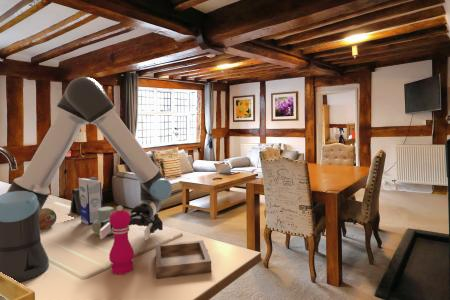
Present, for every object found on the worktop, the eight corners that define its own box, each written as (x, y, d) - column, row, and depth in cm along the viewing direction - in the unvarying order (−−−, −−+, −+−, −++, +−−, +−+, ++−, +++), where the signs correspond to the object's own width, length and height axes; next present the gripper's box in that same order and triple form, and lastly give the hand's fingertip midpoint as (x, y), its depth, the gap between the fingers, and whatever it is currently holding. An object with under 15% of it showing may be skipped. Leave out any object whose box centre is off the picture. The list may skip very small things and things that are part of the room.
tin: (14, 234, 125) (12, 214, 124) (14, 232, 127) (12, 212, 126) (57, 226, 134) (55, 207, 133) (56, 224, 136) (54, 205, 135)
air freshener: (89, 233, 126) (87, 209, 125) (107, 227, 133) (105, 204, 131) (106, 239, 120) (105, 213, 119) (124, 232, 127) (123, 208, 125)
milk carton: (80, 222, 139) (78, 177, 136) (95, 218, 144) (93, 175, 141) (88, 225, 134) (86, 179, 132) (103, 221, 139) (101, 177, 137)
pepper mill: (109, 277, 92) (105, 210, 89) (110, 265, 99) (107, 203, 96) (135, 273, 94) (132, 207, 91) (134, 262, 101) (132, 201, 98)
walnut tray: (156, 278, 91) (156, 267, 90) (155, 254, 106) (155, 244, 106) (211, 272, 94) (211, 261, 94) (203, 249, 110) (203, 240, 109)
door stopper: (70, 212, 153) (68, 188, 152) (82, 209, 158) (80, 185, 156) (79, 215, 148) (78, 190, 146) (91, 212, 152) (90, 188, 151)
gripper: (177, 222, 116) (164, 247, 95) (110, 222, 117) (83, 246, 96) (177, 203, 115) (164, 222, 94) (109, 202, 116) (81, 222, 95)
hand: (123, 234), depth 95 cm, fingers open, 13 cm apart
